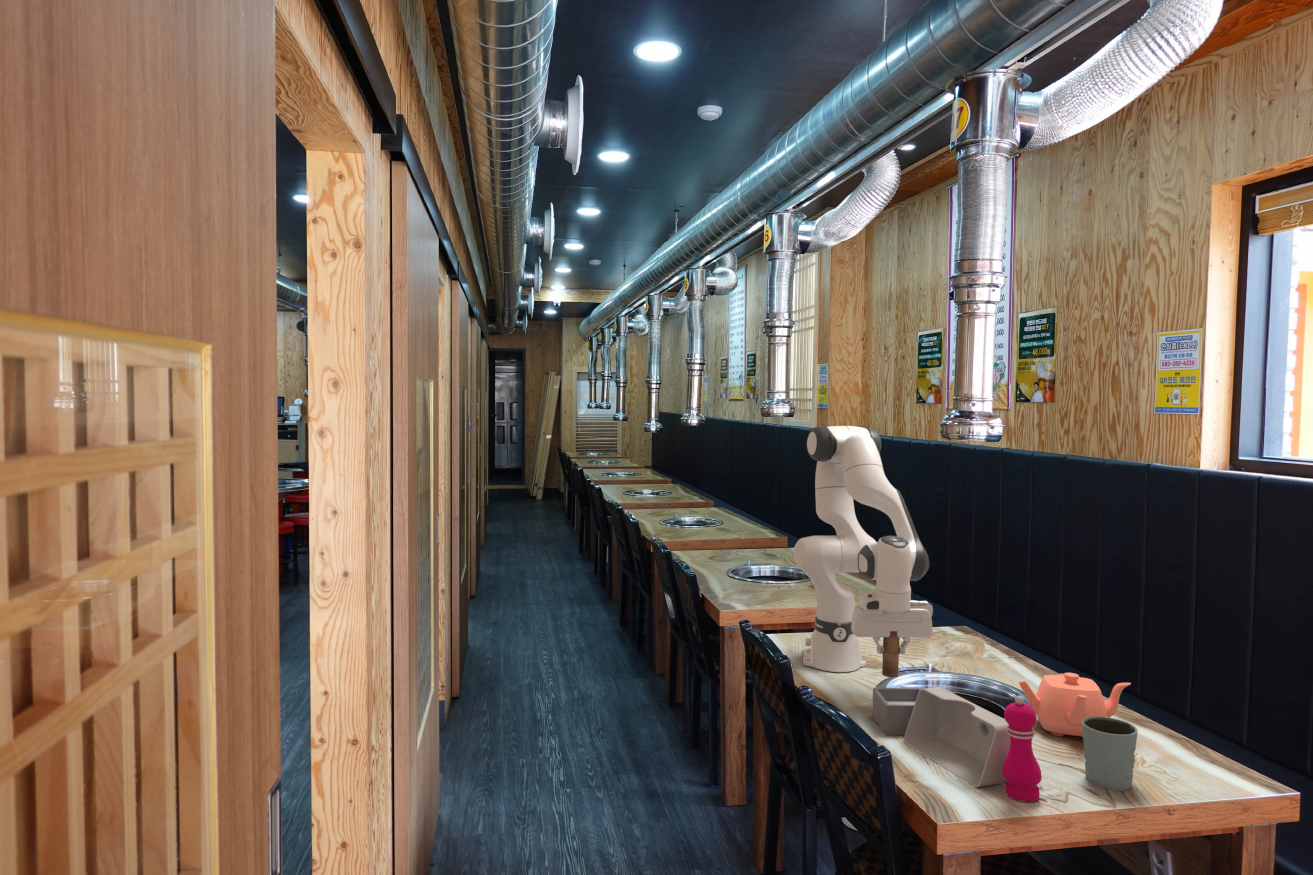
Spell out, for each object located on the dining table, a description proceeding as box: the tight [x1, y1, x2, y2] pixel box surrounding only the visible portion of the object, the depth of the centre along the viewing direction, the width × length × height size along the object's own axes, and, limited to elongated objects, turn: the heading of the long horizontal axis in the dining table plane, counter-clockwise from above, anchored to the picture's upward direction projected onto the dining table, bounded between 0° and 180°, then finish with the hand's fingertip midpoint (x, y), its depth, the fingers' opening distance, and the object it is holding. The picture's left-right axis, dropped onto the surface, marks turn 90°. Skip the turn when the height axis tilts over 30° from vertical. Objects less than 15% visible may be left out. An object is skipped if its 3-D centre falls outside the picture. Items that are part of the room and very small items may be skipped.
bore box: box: [871, 687, 922, 736], centre depth 201 cm, size 12×12×7 cm
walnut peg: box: [881, 631, 901, 678], centre depth 212 cm, size 4×4×12 cm
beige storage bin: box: [903, 686, 1010, 789], centre depth 182 cm, size 25×16×12 cm, turn 20°
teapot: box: [1018, 672, 1132, 739], centre depth 198 cm, size 18×18×14 cm
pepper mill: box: [1002, 695, 1043, 802], centre depth 165 cm, size 7×7×20 cm
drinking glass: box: [1082, 716, 1138, 792], centre depth 172 cm, size 10×10×12 cm
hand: (890, 653), depth 212 cm, fingers closed on walnut peg, 4 cm apart
